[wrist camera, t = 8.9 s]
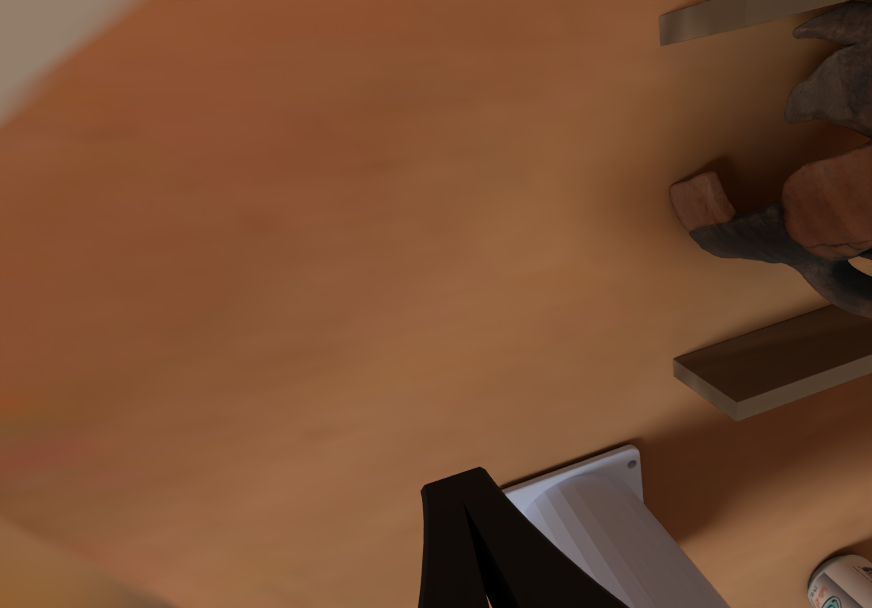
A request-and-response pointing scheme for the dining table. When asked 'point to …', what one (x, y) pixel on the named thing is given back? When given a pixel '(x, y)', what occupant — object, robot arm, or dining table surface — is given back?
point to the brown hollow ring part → (808, 178)
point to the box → (787, 341)
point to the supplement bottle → (842, 583)
